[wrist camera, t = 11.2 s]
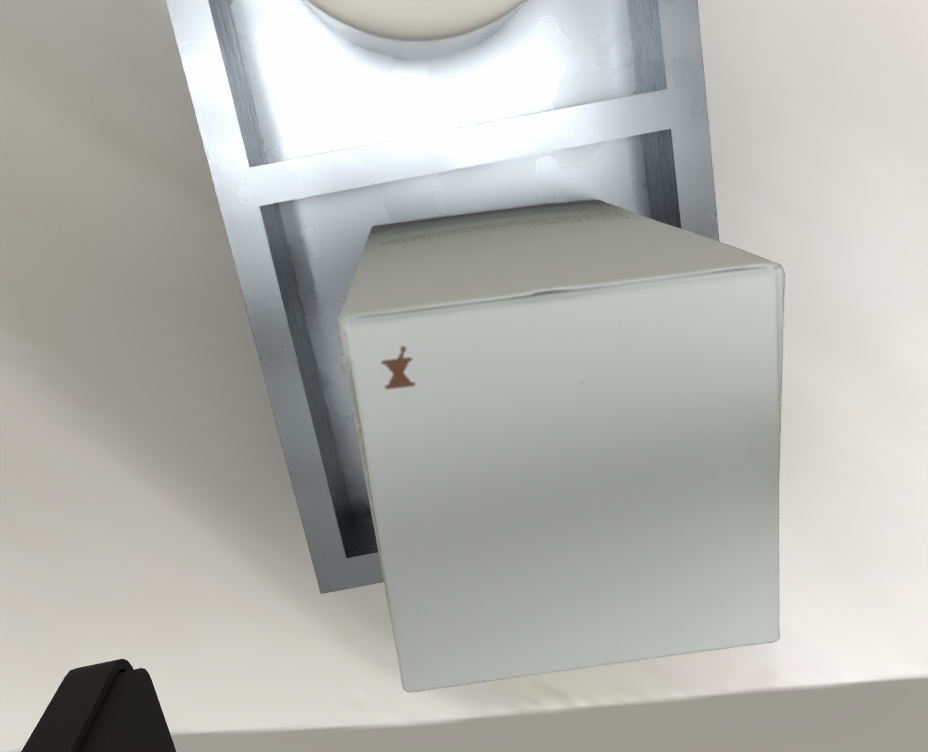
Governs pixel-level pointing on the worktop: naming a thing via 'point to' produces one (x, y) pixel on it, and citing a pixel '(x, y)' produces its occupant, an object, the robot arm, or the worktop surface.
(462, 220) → the supplement box
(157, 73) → the worktop surface
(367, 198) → the divided grey tray
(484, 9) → the white rounded cylinder
